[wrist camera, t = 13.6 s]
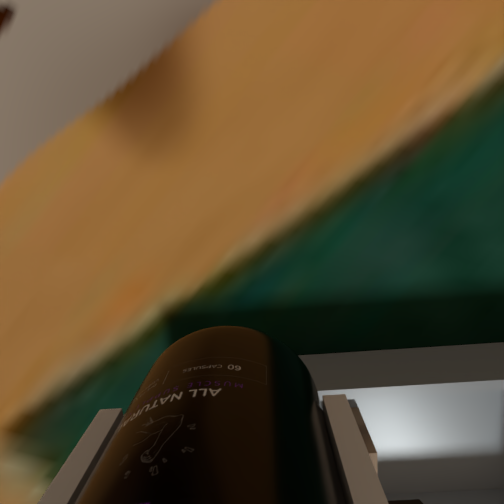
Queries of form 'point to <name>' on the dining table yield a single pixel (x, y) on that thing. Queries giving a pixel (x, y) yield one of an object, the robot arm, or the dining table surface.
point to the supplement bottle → (220, 429)
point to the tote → (427, 417)
